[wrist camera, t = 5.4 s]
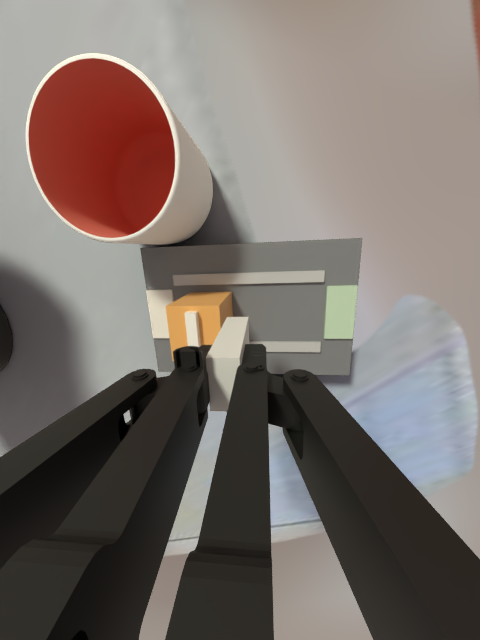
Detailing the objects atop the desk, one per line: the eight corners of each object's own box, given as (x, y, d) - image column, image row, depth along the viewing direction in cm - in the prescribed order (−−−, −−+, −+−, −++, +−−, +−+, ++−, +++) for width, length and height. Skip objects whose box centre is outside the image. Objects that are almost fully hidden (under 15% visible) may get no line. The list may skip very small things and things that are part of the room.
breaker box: (169, 359, 29) (157, 372, 26) (154, 248, 26) (138, 248, 23) (340, 362, 27) (350, 376, 24) (351, 239, 23) (363, 237, 20)
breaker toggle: (195, 335, 25) (169, 364, 18) (190, 292, 23) (161, 308, 17) (233, 335, 24) (221, 365, 18) (231, 291, 23) (217, 307, 17)
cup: (186, 263, 26) (138, 271, 16) (105, 211, 25) (6, 188, 16) (234, 172, 23) (210, 117, 13) (144, 111, 22) (51, 9, 13)
